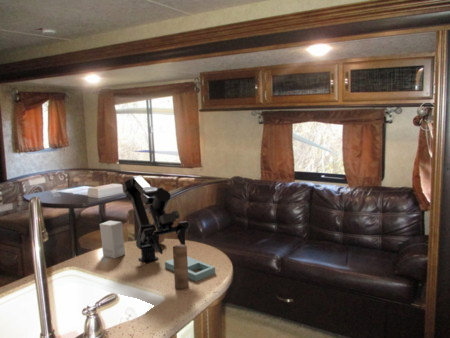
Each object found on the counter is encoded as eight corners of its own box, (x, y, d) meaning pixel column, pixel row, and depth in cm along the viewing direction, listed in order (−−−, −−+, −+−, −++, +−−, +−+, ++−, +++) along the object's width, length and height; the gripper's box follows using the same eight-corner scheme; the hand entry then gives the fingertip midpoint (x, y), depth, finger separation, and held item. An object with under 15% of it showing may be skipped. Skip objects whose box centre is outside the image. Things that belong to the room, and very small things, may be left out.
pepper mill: (172, 286, 130) (169, 247, 128) (183, 282, 134) (181, 243, 132) (180, 291, 127) (178, 250, 125) (191, 286, 130) (189, 246, 128)
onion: (155, 240, 183) (154, 221, 182) (169, 243, 178) (168, 223, 177) (142, 246, 175) (141, 226, 174) (157, 249, 170) (155, 229, 169)
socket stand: (165, 267, 148) (164, 261, 148) (184, 260, 155) (184, 254, 155) (195, 281, 134) (195, 275, 133) (215, 273, 141) (215, 267, 140)
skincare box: (125, 254, 165) (123, 221, 163) (114, 259, 159) (111, 225, 157) (113, 251, 169) (110, 219, 167) (101, 256, 164) (99, 223, 162)
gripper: (141, 208, 130) (155, 245, 122) (186, 200, 140) (202, 234, 133) (135, 224, 138) (147, 260, 130) (178, 216, 148) (193, 249, 140)
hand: (173, 250), depth 133 cm, fingers open, 9 cm apart
